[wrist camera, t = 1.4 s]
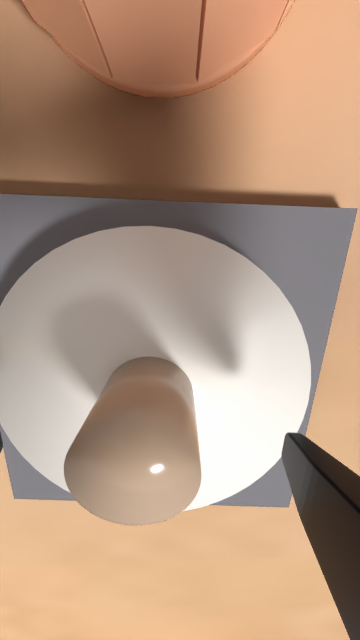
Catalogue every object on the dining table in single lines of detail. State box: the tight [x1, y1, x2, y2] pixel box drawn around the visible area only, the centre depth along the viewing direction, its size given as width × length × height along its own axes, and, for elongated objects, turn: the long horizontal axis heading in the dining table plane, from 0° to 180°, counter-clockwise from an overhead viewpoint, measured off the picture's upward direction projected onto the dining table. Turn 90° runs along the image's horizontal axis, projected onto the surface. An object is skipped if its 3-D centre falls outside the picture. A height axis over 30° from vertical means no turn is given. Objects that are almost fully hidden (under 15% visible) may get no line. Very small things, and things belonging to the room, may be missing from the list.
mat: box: [0, 194, 357, 507], centre depth 11 cm, size 15×15×1 cm
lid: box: [0, 226, 311, 526], centre depth 8 cm, size 13×13×5 cm
